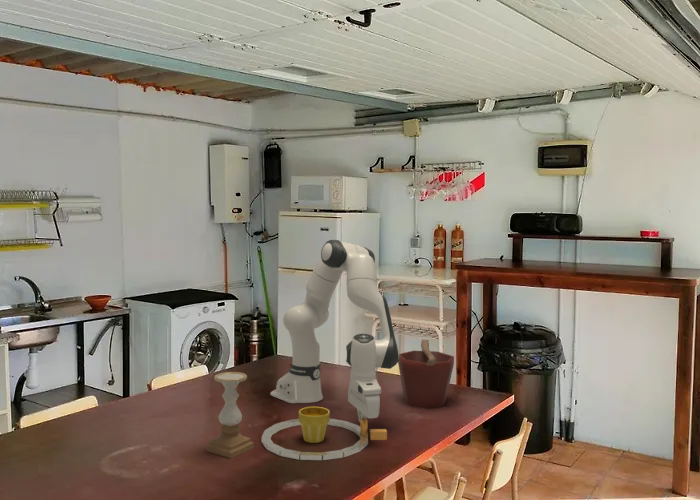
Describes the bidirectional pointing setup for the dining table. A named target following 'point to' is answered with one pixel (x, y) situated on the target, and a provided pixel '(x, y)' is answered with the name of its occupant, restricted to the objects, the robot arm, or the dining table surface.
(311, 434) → the plant pot
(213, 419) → the dining table surface
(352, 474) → the dining table surface
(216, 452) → the candle holder
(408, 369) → the bucket
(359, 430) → the ring
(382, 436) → the pointer block
